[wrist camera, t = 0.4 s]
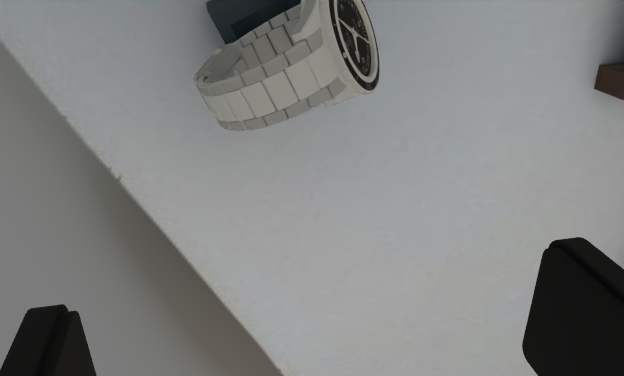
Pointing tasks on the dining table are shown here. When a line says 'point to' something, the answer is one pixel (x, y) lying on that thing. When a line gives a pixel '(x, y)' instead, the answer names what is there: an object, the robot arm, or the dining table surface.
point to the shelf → (611, 80)
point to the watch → (286, 59)
